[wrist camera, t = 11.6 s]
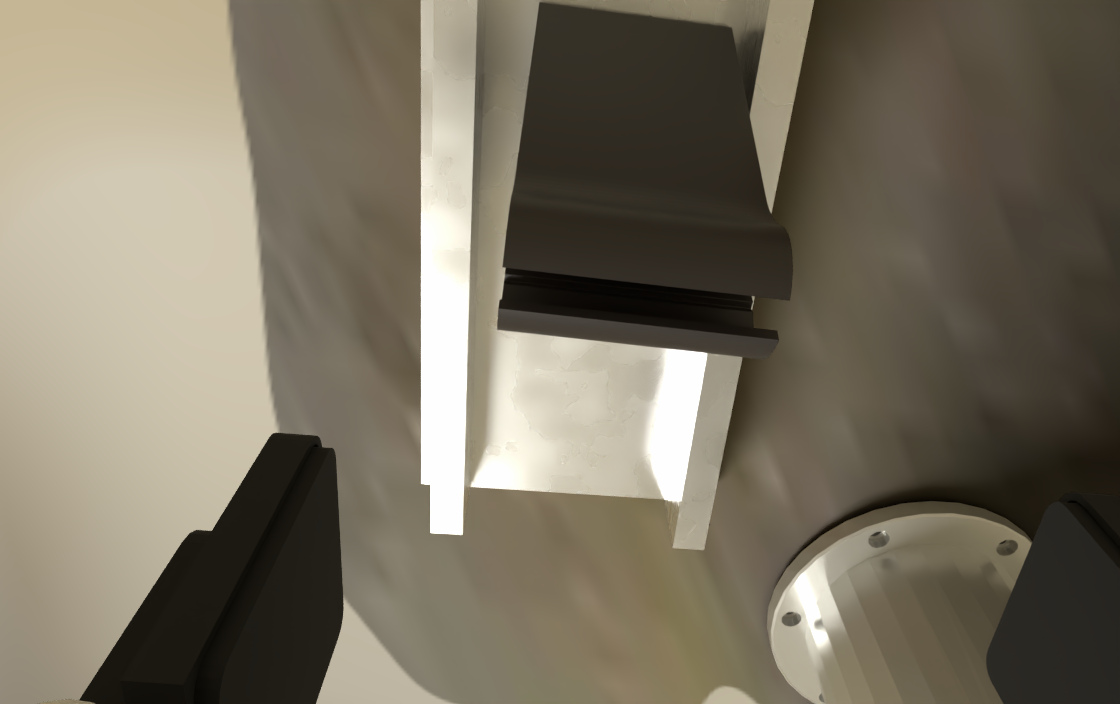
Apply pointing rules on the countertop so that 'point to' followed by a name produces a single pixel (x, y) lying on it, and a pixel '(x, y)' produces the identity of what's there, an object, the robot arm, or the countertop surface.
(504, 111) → the aluminium track
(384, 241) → the countertop surface
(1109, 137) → the countertop surface
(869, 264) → the countertop surface
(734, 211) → the phone stand
